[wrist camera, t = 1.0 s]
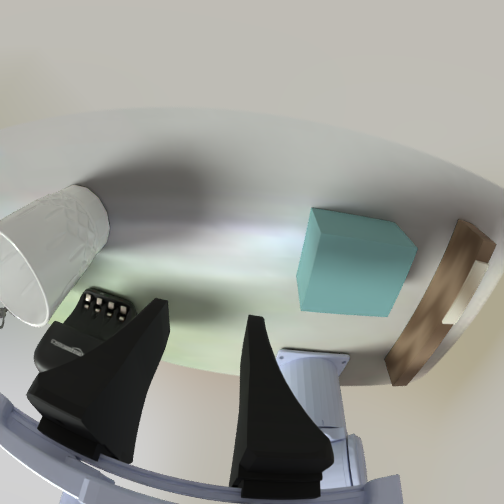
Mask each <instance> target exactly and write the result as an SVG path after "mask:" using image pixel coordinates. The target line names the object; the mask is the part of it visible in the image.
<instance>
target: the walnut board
mask: <svg viewBox="0 0 504 504" xmlns="http://www.w3.org/2000/svg"><path fill="white" fill-rule="evenodd" d="M495 247H496V244H495V243H494V242H493V241H492V240H491V239H490V238H489V237H487V236H486V235H485V234H484V233H483V232H481V231H480V230H479V229H478V228H476V227H475V226H474V225H473V224H471V223H468V222H466V221H463V220H460V219H458V222H457V225H456V227H455V230H454V232H453V235H452V237H451V240H450V242H449V244H448V247H447V249H446V251H445V254H444V256H443V258H442V260H441V262H440V264H439V267H438V269H437V271H436V273H435V275H434V277H433V279H432V281H431V283H430V285H429V287H428V289H427V291H426V292H425V294H424V296H423V298H422V300H421V302H420V303H419V305H418V307H417V309H416V311H415V312H414V314H413V316H412V317H411V319H410V321H409V322H408V324H407V326H406V327H405V329H404V331H403V332H402V334H401V335H400V337H399V338H398V340H397V342H396V343H395V345H394V346H393V348H392V349H391V351H390V352H389V353H388V355H387V356H386V358H385V359H384V360H385V363H386V366H387V370H388V373H389V376H390V379H391V383H392V386H406V385H407V384H408V383H409V382H410V381H411V380H412V379H413V377H414V376H415V375H416V374H417V373H418V371H419V370H420V369H421V368H422V367H423V365H424V364H425V363H426V362H427V360H428V359H429V358H430V356H431V355H432V354H433V352H434V351H435V350H436V348H437V347H438V346H439V344H440V343H441V342H442V340H443V339H444V337H445V336H446V334H447V333H448V332H449V330H450V329H451V327H452V326H453V324H456V323H457V321H458V319H459V318H460V316H461V315H462V313H463V312H464V310H465V308H466V307H467V305H468V303H469V302H470V300H471V298H472V296H473V295H474V293H475V291H476V289H477V288H478V286H479V284H480V282H481V280H482V278H483V276H484V274H485V272H486V270H487V268H488V266H489V264H488V262H489V260H490V258H491V256H492V253H493V251H494V249H495Z"/></svg>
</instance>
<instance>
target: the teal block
mask: <svg viewBox="0 0 504 504" xmlns="http://www.w3.org/2000/svg"><path fill="white" fill-rule="evenodd" d="M417 250H418V248H417V247H416V246H415V245H414V243H413V242H412V241H411V240H410V239H409V238H408V237H407V236H406V234H405V233H404V232H403V231H402V230H401V229H400V228H399V227H398V226H397V225H396V223H395V222H390V221H385V220H380V219H374V218H369V217H364V216H358V215H353V214H347V213H341V212H335V211H329V210H323V209H317V208H311V212H310V217H309V222H308V226H307V231H306V236H305V240H304V245H303V249H302V254H301V258H300V263H299V267H298V271H297V275H296V277H297V284H298V292H299V301H300V309H301V311H309V312H320V313H332V314H346V315H360V316H378V317H388V315H389V313H390V311H391V309H392V307H393V305H394V303H395V301H396V299H397V297H398V294H399V292H400V290H401V288H402V286H403V283H404V281H405V279H406V277H407V274H408V272H409V270H410V267H411V265H412V262H413V260H414V257H415V255H416V252H417Z"/></svg>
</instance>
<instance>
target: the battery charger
mask: <svg viewBox="0 0 504 504" xmlns="http://www.w3.org/2000/svg"><path fill="white" fill-rule="evenodd" d="M136 316H137V313H136V310H135V308H134V306H133V304H132V303H131V302H129V301H127V300H125V299H122V298H119V297H116V296H113V295H110V294H107V293H104V292H101V291H98V290H94V289H86V290H85V291H84V292H83V294H82V295H81V297H80V300H79V302H78V304H77V306H76V307H75V309H74V311H73V312H72V313H71V315H70V316H69V317H68V318H67V319H66V321H65V322H64V323H63V324H62V323H60V322H58V321H54V322H53V323H52V325H51V326H50V327H49V329H48V330H47V332H46V333H45V334H44V336H43V338H42V339H41V341H40V342H39V344H38V346H37V348H36V350H35V353H34V362H35V365H36V367H37V369H38V371H39V373H40V372H44V371H47V370H50V369H53V368H56V367H58V366H61V365H63V364H66V363H68V362H70V361H72V360H74V359H76V358H78V357H80V356H82V355H84V354H86V353H87V352H89V351H91V350H93V349H94V348H96V347H97V346H99V345H100V344H102V343H103V342H105V341H106V340H108V339H109V338H110V337H112V336H113V335H114V334H115V333H117V332H118V331H119V330H120V329H122V328H123V327H124V326H125V325H126V324H128V323H129V322H130V321H131V320H132V319H133V318H134V317H136Z"/></svg>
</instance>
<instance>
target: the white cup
mask: <svg viewBox="0 0 504 504" xmlns="http://www.w3.org/2000/svg"><path fill="white" fill-rule="evenodd" d="M109 230H110V226H109V221H108V215H107V212H106V210H105V208H104V206H103V205H102V203H101V201H100V199H99V198H98V197H97V196H96V195H95V194H94V193H92V192H91V191H90V190H89V189H88V188H86V187H82V186H77V185H71V186H69V187H67V188H65V189H62V190H60V191H58V192H56V193H53V194H48V195H46V196H44V197H42V198H40V199H37V200H35V201H33V202H31V203H30V204H28V205H26V206H24V207H22V208H20V209H19V210H17V211H15V212H13V213H11V214H10V215H8V216H6V217H4V218H3V219H1V220H0V301H1V302H2V303H3V305H4V306H5V307H6V308H7V309H8V310H9V311H10V312H11V313H12V314H13V315H14V316H16V317H17V318H18V319H20V320H21V321H23V322H24V323H26V324H28V325H31V326H34V327H42V326H45V325H46V324H47V323H48V321H49V320H50V318H51V317H52V315H53V314H54V312H55V311H56V310H57V308H58V307H59V305H60V304H61V303H62V301H63V300H64V298H65V297H66V296H67V294H68V293H69V292H70V290H71V289H72V288H73V286H74V285H75V284H76V282H77V281H78V280H79V279H80V277H81V276H82V275H83V273H84V272H85V271H86V269H87V268H88V266H89V265H90V264H91V262H92V260H93V258H94V257H95V256H96V254H97V253H98V252H99V251H100V250H101V249H102V248H103V246H104V245H105V244H106V243H107V239H108V235H109Z"/></svg>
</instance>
